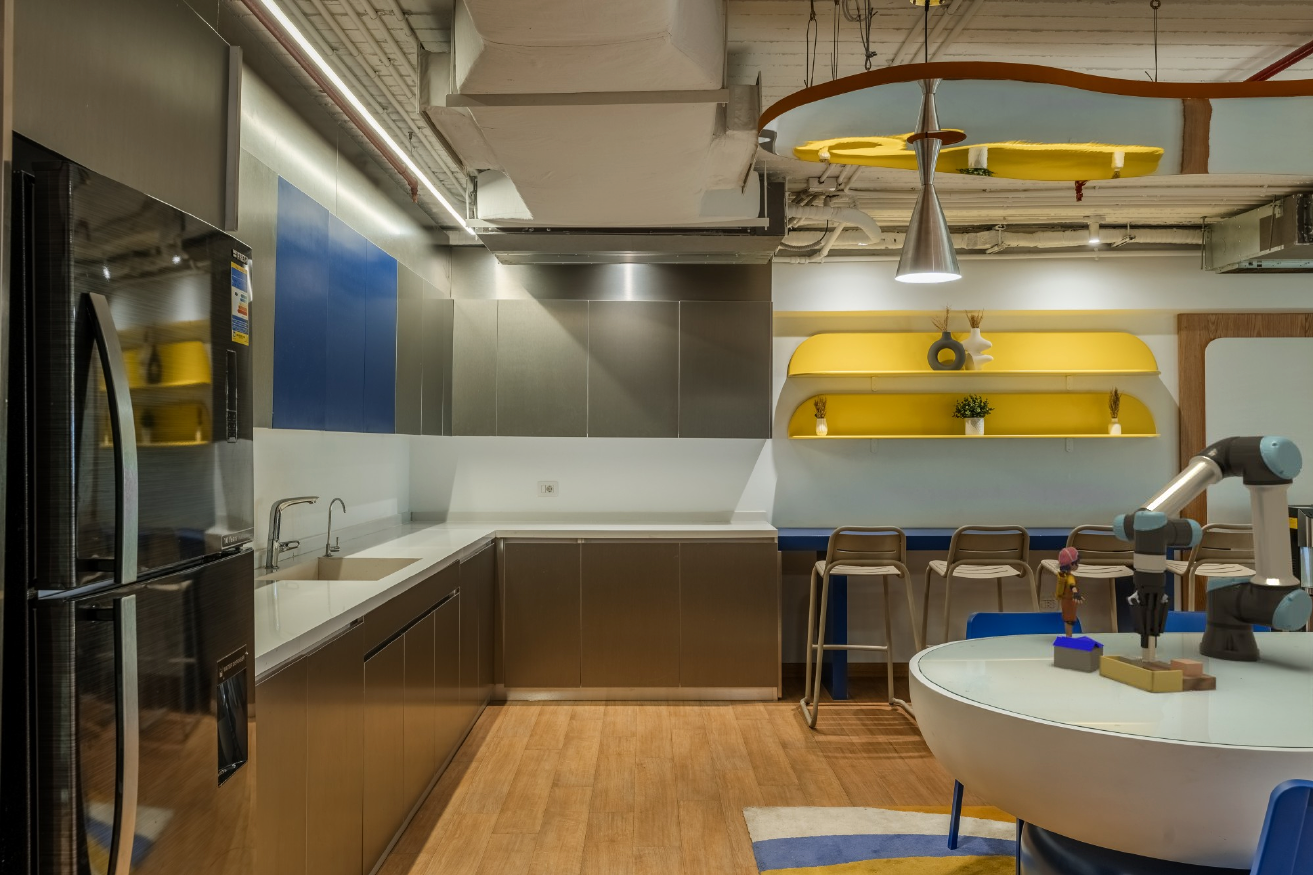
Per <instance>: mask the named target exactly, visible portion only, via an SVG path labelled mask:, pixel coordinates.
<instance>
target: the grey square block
mask: <svg viewBox="0 0 1313 875" xmlns="http://www.w3.org/2000/svg"><path fill="white" fill-rule="evenodd" d="M1119 655H1120V656H1118V661H1120V662H1123V663H1126V664H1130V665H1133V666H1136V667H1139V668H1143V663H1142V662H1143V660H1142V658H1141V657H1138V656H1133V655H1130V654H1119Z"/></svg>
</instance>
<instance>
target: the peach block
mask: <svg viewBox="0 0 1313 875" xmlns="http://www.w3.org/2000/svg"><path fill="white" fill-rule="evenodd" d="M1169 664H1170V671H1176V670H1181V671H1183V675H1185V676H1196V675H1203V674H1204V673H1203V672H1204V663H1203V662H1201V661H1197V660H1193V659H1188V658H1175V659H1174V658H1172V659H1170V663H1169Z"/></svg>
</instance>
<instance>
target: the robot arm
mask: <svg viewBox="0 0 1313 875" xmlns="http://www.w3.org/2000/svg"><path fill="white" fill-rule="evenodd" d="M1302 469H1303V458H1302V453H1301V450H1300V448H1299V446H1298V445H1297V444H1296V443H1295V442H1294V441H1293V440H1291V439H1290V438H1288V437H1285V436H1278V435H1255V436H1253V435H1252V436H1240V435H1239V436H1229V437H1225V438H1223V439H1220V440H1217V441H1215V442H1213V443H1211V444H1210V445H1208V446H1207V447H1205V448H1203V449H1202V450H1200V451H1199V452H1198V453H1196V455H1194V456H1193V457H1192V458H1190V459H1189V462H1188V466H1187V467H1186V468H1185V469H1183V470H1182V471H1181V472H1180V473H1178V475H1176V476H1175V477H1174V478H1173V479H1171V480H1170V482H1168V483H1167V484H1166V485H1164V486H1163V487H1162V488H1161V489H1160V490H1158V491H1157V492H1156V493H1155V494H1154V495H1153V496H1152V497H1150V498H1149V499H1148V500H1147V501H1146V502H1145V503H1143V504H1142V505H1141V506H1140V507H1138V508H1137V510H1135V511H1134V512H1133V513H1131V514H1129V513H1126V514H1119V515H1117V516H1116V517H1115V518H1114V519H1113V522H1112V532H1113V534H1114V535H1115V537H1116V538H1117V539H1118V540H1120V541H1125V542H1128V543H1133V548H1134V549H1133V568H1134V570H1133V573H1132V576H1133V580H1132V582H1133V584H1134V585H1135V586H1134V587H1135V588H1134V590H1133V594H1131V596H1126V597H1125V601H1126V603H1127V605H1128V608H1129V613H1130V619H1131V623H1132V627H1133V628H1132V630H1133V632H1134V633H1136V634H1138V635H1140V648H1141V649H1142V650H1141V655H1142V656H1141V657H1142V658H1141V659H1142V661H1144V662H1146V661H1149V662H1155V661H1156V648H1157V644H1158V637H1161V634H1162V635H1163V634H1164V632H1165V628H1166V623H1167V620H1168V615H1169V610H1170V605H1171V604H1172V603H1173V601H1174V599H1173V597H1172V596H1168V595H1167V594H1166V593H1165V592H1166V591H1165V588H1164V587H1166V584H1167V574H1166V572H1165V571H1166V569H1167V548H1190V547H1192V548H1193V547H1196V546H1197V545H1198V544H1199V543H1200V542H1201V540H1203V539H1202V538H1203V529H1202V526H1201V525H1200V523H1199V522H1197V521H1196V520H1195V519H1192V518H1191V519H1190V518H1183V517H1182V518H1174V517H1175V516H1176V515H1178V513H1179V512H1181V511H1182V510H1183V509H1184V508H1185V507H1186V506H1187V505H1189V504H1190V503H1191V502H1192V501H1193V500H1194V499H1195V498H1197V496H1199V495H1200V494H1202V492H1204V491H1205V490H1206V489H1207V488H1208V487H1209V486H1211V485H1216V484H1218V483H1220V482H1221V481H1222V480H1224V479H1226V478H1232V477H1234V478H1235V477H1238V478H1242V485H1243V486H1244V488H1246V489H1248V491H1249V494H1250V496H1249V497H1250V512H1251V524H1252V526H1251V527H1252V537H1253V538H1252V540H1253V552H1254V553H1253V554H1254V566H1255V574H1254V575H1253V576H1252V577H1248V576H1247V577H1240V576H1239V577H1237V576H1236V577H1232V576H1231V577H1225V576H1224V577H1212V578H1209V579H1208V580H1207V583H1206V591H1205V595H1206V598H1205V604H1206V606H1205V611H1206V614H1205V615H1206V618H1205V620H1206V621H1205V622H1206V623H1205V625H1206V626H1205V629H1204V633H1203V635H1202V638H1201V641H1200V642H1199V644H1198V645H1199V646H1198V649H1199V650H1198V651H1199V652H1198V653H1199V654H1202V655H1204V656H1206V657H1207V656H1208V657H1211V658H1216V659H1221V660H1222V659H1223V660H1230V661H1239V662H1252V661H1253V662H1254V661H1259V660H1260V659H1261V651H1260V649H1259V648H1258V644H1257V641H1256V637H1255V634H1254V625H1255V626H1260V627H1264V628H1266V627H1267V628H1270V629H1274V630H1278V631H1287V632H1288V631H1290V632H1292V631H1293V632H1294V631H1298V630H1301V628H1303V627H1304V626H1305V625H1306V624H1307V622H1308V621H1309V620H1310V617H1311V615H1312V612H1313V600H1312V596H1310V594H1309V593H1308V592H1307V591H1306V590H1305V589H1301V581H1300V580H1299V578H1297V577H1296V576H1295V575H1294V572H1293V559H1292V558H1293V557H1292V548H1291V544H1292V543H1291V532H1290V520H1289V518H1290V517H1289V516H1290V515H1289V502H1288V490H1289V488H1290V487H1291V486H1292V485H1294V481H1293V479H1294V478H1296V477H1299V475H1300V473H1301V470H1302Z"/></svg>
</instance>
